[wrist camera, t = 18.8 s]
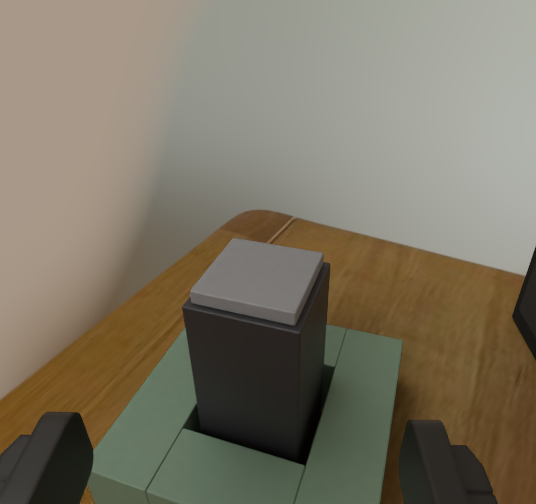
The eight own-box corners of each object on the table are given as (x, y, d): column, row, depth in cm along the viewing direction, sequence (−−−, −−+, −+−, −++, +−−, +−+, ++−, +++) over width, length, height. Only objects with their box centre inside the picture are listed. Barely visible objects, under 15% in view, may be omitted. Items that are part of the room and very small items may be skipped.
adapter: (96, 508, 20) (80, 467, 18) (210, 335, 29) (206, 298, 27) (361, 611, 17) (370, 572, 15) (396, 379, 26) (403, 339, 24)
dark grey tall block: (205, 461, 22) (179, 293, 16) (241, 390, 25) (229, 233, 20) (296, 491, 20) (300, 319, 15) (321, 412, 24) (331, 250, 19)
